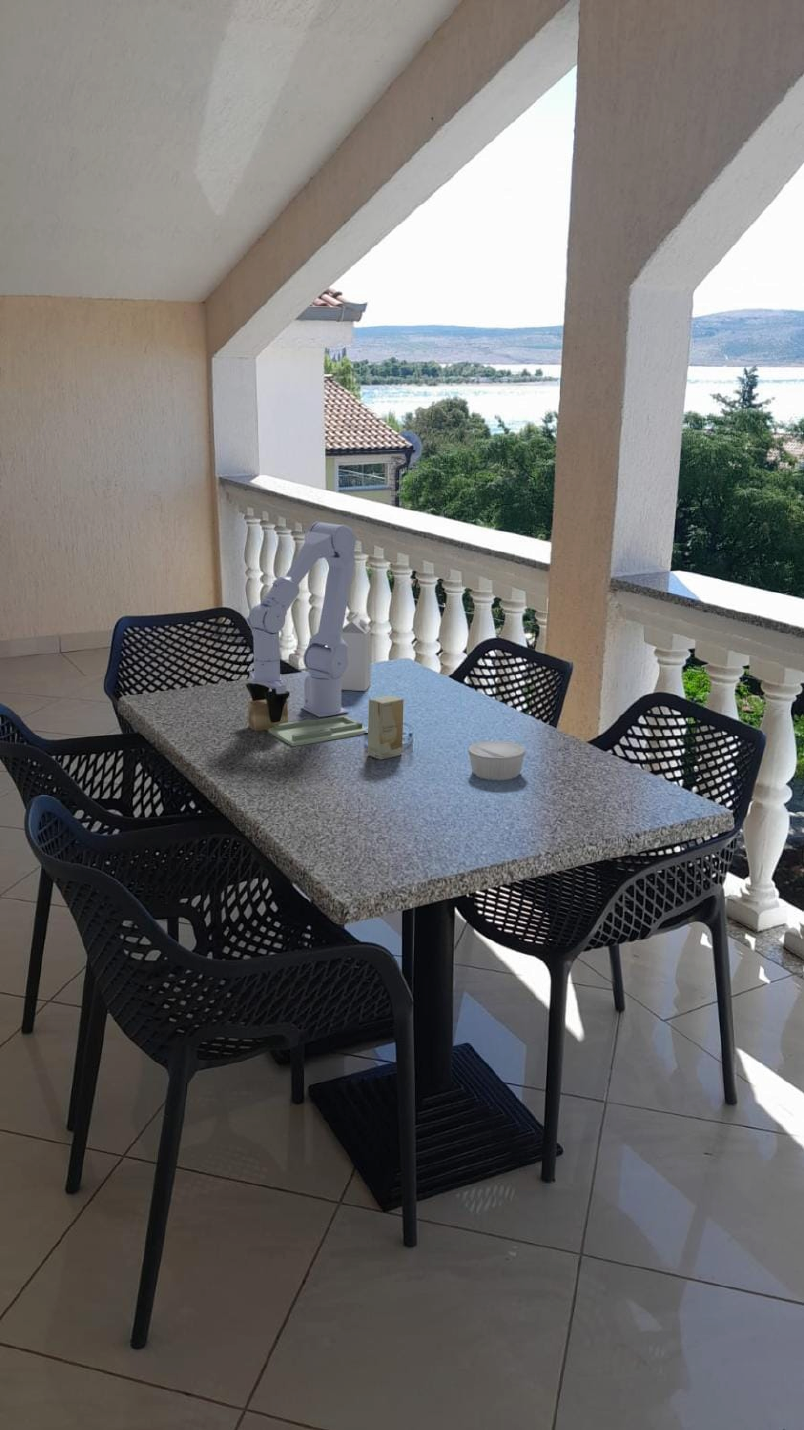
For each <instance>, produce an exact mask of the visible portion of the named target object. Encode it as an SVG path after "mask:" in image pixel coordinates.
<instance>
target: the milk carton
mask: <svg viewBox="0 0 804 1430" xmlns="http://www.w3.org/2000/svg"><path fill="white" fill-rule="evenodd" d="M358 615H359V613H358V611H357V612H355V613H354V614H353V615H352V616H351V618H350V621H349V622H348V623H346V625H343V629H342V635H341V637H342V638H343V640H344V641H345V643H346V644H347V646H348V651H347V656H348V666H347V669H346V671H345V672H344V673H343V676H341V691H353V692H354V691H357V692H366V691H367V690H368V689H369V687H370V686H371V684H372V681H371V680H372V679H371V678H372V674H371V673H372V672H371V669H372V668H371V667H372V663H371V660H372V659H371V658H372V656H371V655H372V645H371V644H372V641H371V639H372V632H371V631H372V629H371V626H369V624H368V622H367V621H366V619H363V618H360V617H359V616H358Z"/></svg>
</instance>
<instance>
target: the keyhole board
mask: <svg viewBox="0 0 804 1430" xmlns="http://www.w3.org/2000/svg"><path fill="white" fill-rule="evenodd" d="M366 729H368V728H366V727H365V726H363V723H362V722H360V721H358V720H356V719H354V718H352V717H350V716H347V715H346V714H344V715H343V714H341V715H337V716H336V715H335V716H330V717H323V718H319V719H318V718H317V719H311V718H308V719H303V720H302V719H301V720H296V721H290V722H289V721H288V723H282V724H276V725H274V728H269V729H267V732H268V733H269V734H270V735H272V736H275V737H276V738H277V739H279V740H281V741H282V742H284V743H286V744H288V745H290V746H291V747H298V746H303V745H309V744H314V743H320V742H327V741H331V740H337V739H338V740H339V739H345V738H350V737H354V736H355V737H356V736H361V735H364V734H363V733H364V732H365V731H366Z"/></svg>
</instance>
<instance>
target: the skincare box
mask: <svg viewBox="0 0 804 1430" xmlns="http://www.w3.org/2000/svg"><path fill="white" fill-rule="evenodd" d="M367 724H368V726H367V727H368V728H367V729H368V734H367V755H368V756H370V757H373V758H375V759H377V760H381V761H382V760H385V759H390V758H394V757H397V756H402V755H403V735H404V732H403V731H404V729H403V728H404V698H401V697H398V696H394V695H391V694H390V695H385V696H379V697H375V698H374V697H373V698H369V699H368V723H367Z"/></svg>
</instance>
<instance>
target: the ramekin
mask: <svg viewBox="0 0 804 1430" xmlns="http://www.w3.org/2000/svg"><path fill="white" fill-rule="evenodd" d="M468 755H469V758H470V766H471V770H472V772H473V774H474V776H476V777H477V778H479V777H480V779H482V780H488V781H493V782H496V781H495V780H497V782H502V781H503V782H505V781H509V780H514V779H515V778H517V777H518V776H519V775H520V774H521V771H522V769H523V768H522V767H523V763H524V757H525V756H526V749H525V747H524V746H522V745H520V744H518V743H515V742H511V741H507V740H486V741H480V742H475V743H473V744H471V745H470V746H469V747H468Z"/></svg>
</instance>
